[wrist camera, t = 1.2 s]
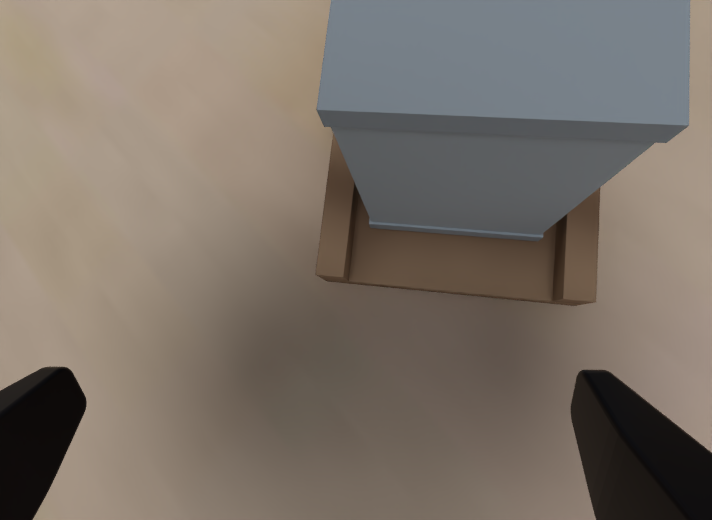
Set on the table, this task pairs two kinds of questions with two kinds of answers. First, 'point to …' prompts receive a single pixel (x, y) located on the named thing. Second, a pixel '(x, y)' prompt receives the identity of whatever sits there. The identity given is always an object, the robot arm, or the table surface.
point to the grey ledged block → (498, 105)
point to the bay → (456, 252)
